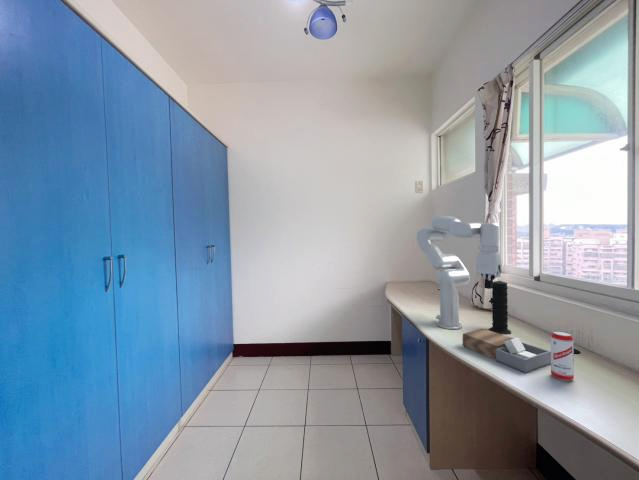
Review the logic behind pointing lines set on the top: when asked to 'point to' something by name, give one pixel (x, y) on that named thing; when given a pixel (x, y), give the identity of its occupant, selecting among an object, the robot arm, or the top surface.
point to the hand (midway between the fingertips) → (488, 288)
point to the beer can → (562, 355)
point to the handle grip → (500, 308)
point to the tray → (522, 364)
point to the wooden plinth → (484, 342)
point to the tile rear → (514, 345)
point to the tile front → (525, 354)
